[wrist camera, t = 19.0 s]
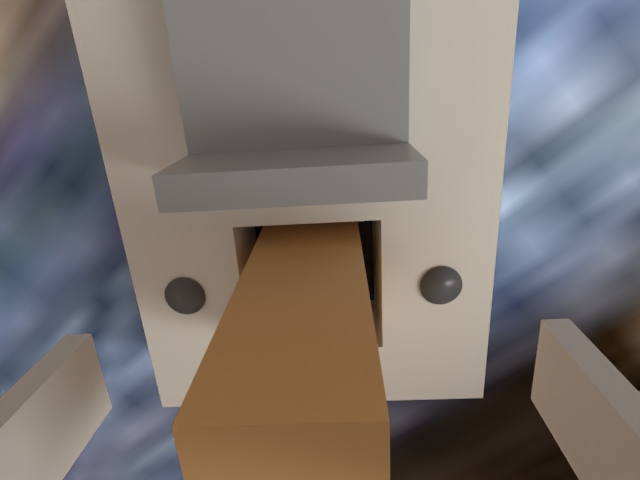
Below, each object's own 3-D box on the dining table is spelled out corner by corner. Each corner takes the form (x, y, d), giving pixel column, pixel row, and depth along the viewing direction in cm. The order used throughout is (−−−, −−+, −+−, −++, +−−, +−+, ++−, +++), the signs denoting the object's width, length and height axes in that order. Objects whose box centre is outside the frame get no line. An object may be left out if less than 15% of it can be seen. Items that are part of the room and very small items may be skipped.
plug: (355, 209, 20) (390, 421, 8) (358, 286, 21) (390, 568, 9) (269, 213, 20) (170, 426, 8) (277, 290, 22) (204, 570, 9)
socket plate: (457, 343, 22) (483, 399, 18) (190, 352, 23) (161, 408, 19) (483, -73, 16) (531, -120, 12) (111, -43, 17) (44, -78, 13)
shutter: (403, 167, 15) (427, 199, 11) (201, 178, 15) (159, 213, 11) (405, -77, 12) (436, -142, 9) (164, -57, 13) (92, -111, 9)
